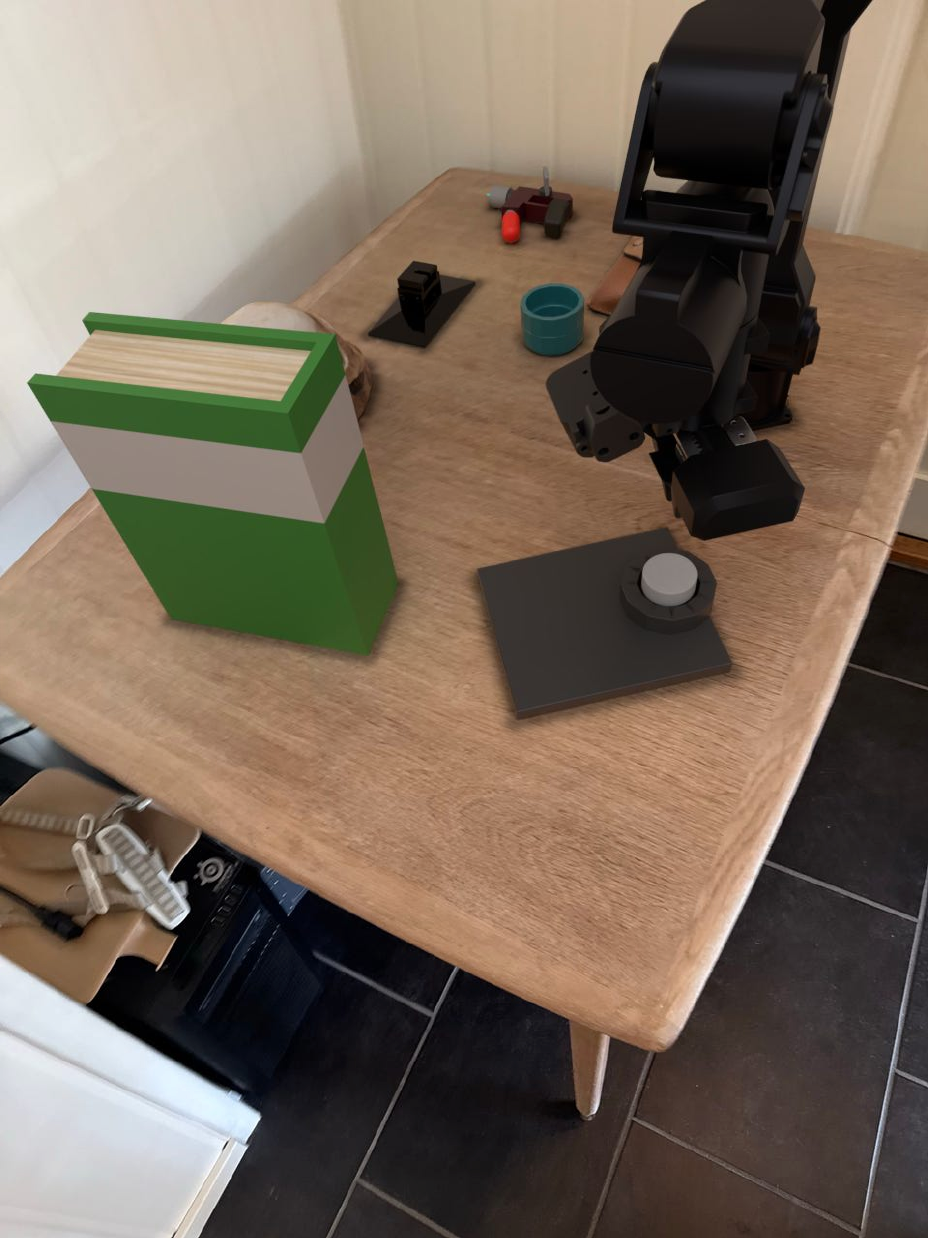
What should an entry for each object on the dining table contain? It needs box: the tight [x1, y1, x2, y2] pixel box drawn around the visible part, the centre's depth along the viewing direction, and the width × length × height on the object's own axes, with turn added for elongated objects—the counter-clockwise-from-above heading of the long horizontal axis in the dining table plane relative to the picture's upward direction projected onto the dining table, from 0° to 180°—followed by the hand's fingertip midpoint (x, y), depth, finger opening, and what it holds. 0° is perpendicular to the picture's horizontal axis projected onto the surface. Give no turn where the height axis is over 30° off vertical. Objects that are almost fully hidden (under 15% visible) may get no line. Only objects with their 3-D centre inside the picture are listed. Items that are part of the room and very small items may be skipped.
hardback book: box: [26, 311, 400, 656], centre depth 63 cm, size 18×7×24 cm, turn 74°
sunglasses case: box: [586, 236, 643, 317], centre depth 94 cm, size 18×7×7 cm
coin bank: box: [219, 301, 373, 421], centre depth 82 cm, size 16×17×13 cm
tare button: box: [641, 553, 697, 606], centre depth 66 cm, size 4×4×2 cm
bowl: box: [520, 282, 585, 357], centre depth 88 cm, size 6×6×4 cm
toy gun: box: [486, 166, 574, 244], centre depth 102 cm, size 10×12×5 cm
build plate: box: [367, 260, 477, 349], centre depth 94 cm, size 12×7×5 cm, turn 154°
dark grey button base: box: [476, 526, 733, 721], centre depth 67 cm, size 17×14×3 cm
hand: (678, 507), depth 60 cm, fingers closed
